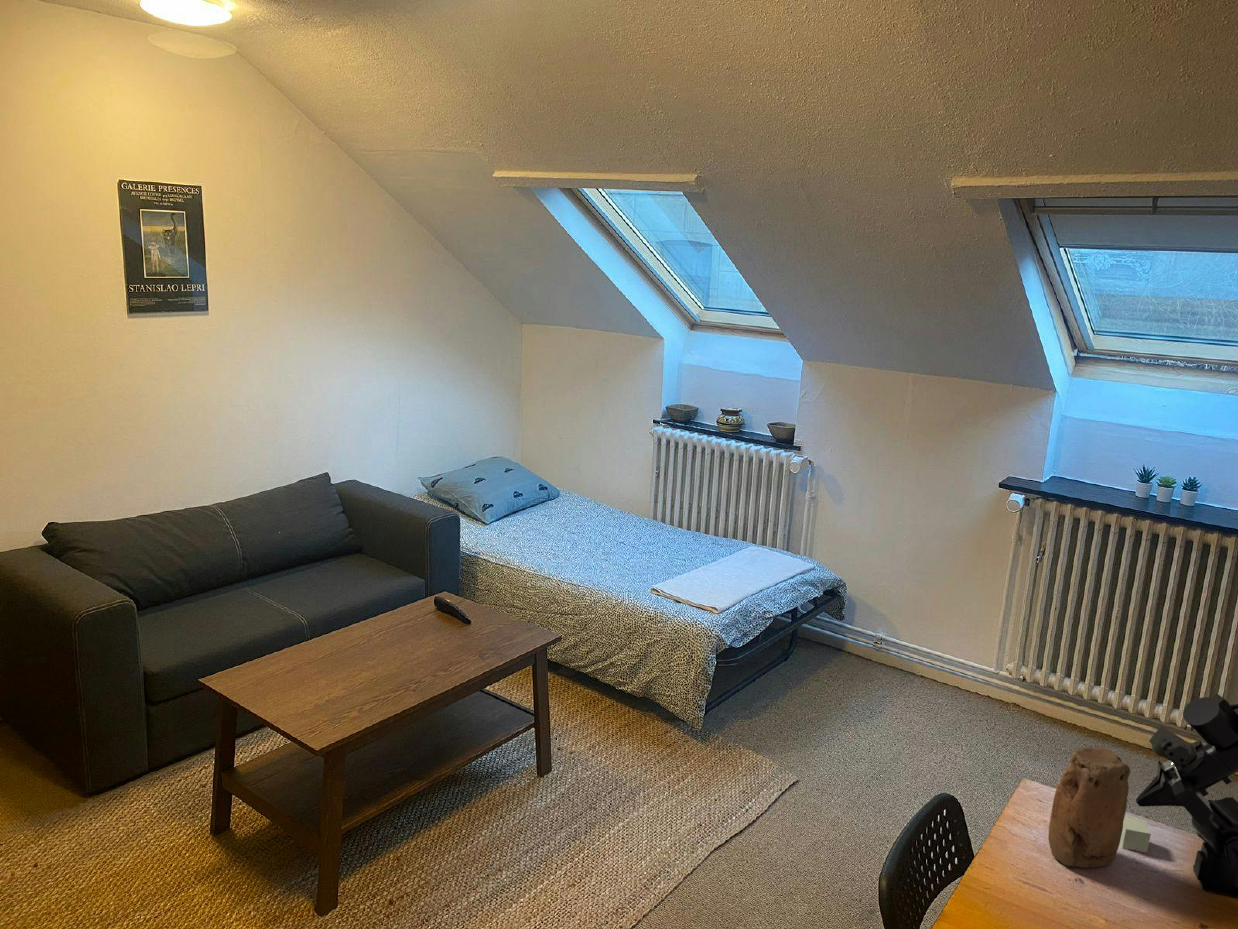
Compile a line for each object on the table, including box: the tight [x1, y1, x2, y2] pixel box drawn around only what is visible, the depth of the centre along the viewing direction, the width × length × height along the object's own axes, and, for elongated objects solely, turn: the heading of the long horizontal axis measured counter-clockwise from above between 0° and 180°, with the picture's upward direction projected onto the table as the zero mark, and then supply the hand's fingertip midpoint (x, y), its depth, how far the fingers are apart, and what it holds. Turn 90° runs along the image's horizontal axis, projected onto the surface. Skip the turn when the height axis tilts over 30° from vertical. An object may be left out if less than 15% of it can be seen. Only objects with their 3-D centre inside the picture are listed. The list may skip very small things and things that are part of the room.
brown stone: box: [1047, 747, 1131, 868], centre depth 161 cm, size 11×8×20 cm
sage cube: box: [1120, 816, 1151, 853], centre depth 167 cm, size 4×4×4 cm
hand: (1137, 803), depth 159 cm, fingers closed
